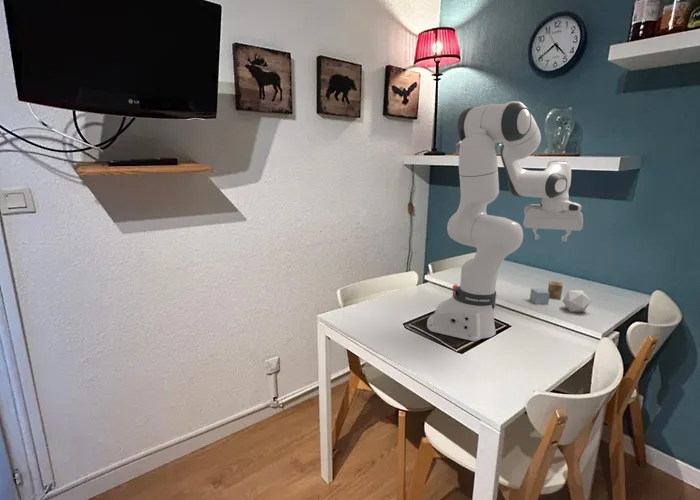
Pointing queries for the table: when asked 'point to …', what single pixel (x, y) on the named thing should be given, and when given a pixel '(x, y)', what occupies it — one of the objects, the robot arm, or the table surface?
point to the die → (576, 301)
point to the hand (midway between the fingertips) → (550, 240)
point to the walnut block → (555, 289)
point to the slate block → (539, 296)
